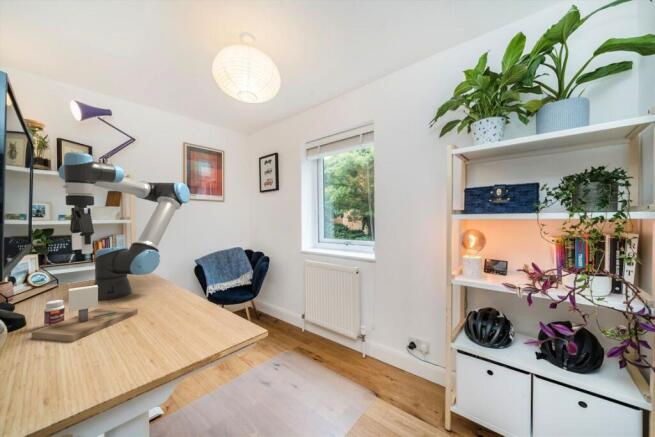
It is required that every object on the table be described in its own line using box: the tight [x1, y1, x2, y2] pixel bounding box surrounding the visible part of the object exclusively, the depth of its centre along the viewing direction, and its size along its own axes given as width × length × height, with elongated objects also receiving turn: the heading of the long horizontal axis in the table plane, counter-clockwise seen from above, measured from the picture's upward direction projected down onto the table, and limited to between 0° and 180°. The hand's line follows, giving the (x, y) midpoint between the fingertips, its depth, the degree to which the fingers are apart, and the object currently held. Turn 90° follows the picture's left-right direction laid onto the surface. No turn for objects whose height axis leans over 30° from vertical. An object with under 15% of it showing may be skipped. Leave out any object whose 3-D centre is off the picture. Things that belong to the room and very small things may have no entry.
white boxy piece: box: [68, 284, 116, 322], centre depth 86 cm, size 3×12×11 cm, turn 137°
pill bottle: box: [43, 299, 66, 328], centre depth 85 cm, size 5×5×8 cm
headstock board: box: [30, 305, 139, 343], centre depth 86 cm, size 22×15×2 cm
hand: (82, 251), depth 92 cm, fingers open, 13 cm apart
